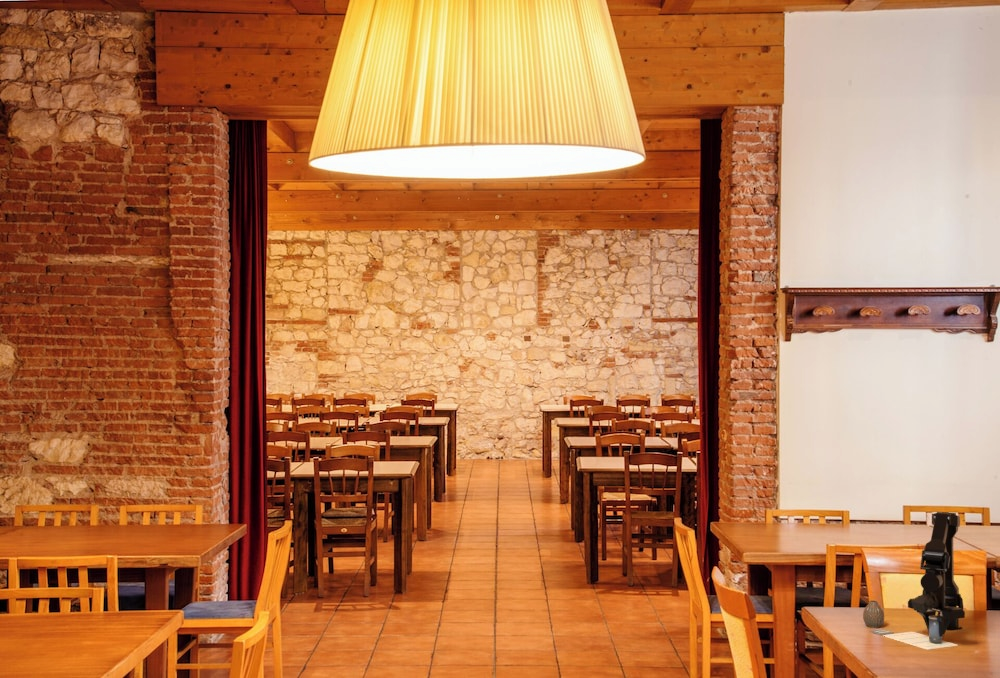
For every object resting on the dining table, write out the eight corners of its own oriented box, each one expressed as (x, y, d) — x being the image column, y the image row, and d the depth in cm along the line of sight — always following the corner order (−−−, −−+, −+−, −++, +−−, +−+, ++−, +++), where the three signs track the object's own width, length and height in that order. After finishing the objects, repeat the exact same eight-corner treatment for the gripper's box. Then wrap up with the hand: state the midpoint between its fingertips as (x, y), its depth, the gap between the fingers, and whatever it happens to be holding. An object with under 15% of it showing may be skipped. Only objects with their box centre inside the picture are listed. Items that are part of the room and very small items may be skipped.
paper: (912, 632, 351) (912, 631, 351) (957, 645, 334) (957, 644, 334) (882, 636, 346) (882, 635, 346) (927, 649, 329) (927, 648, 329)
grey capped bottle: (935, 639, 339) (935, 614, 340) (945, 642, 336) (945, 617, 336) (925, 640, 338) (925, 615, 338) (936, 643, 334) (935, 618, 334)
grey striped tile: (883, 630, 354) (883, 629, 354) (893, 633, 350) (893, 632, 350) (870, 632, 351) (870, 630, 351) (880, 635, 347) (880, 633, 347)
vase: (885, 629, 355) (885, 603, 356) (864, 628, 357) (864, 602, 357) (882, 624, 362) (882, 599, 362) (861, 623, 363) (861, 598, 364)
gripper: (894, 583, 343) (895, 630, 342) (939, 594, 325) (940, 644, 325) (920, 580, 347) (920, 627, 346) (965, 591, 330) (966, 641, 329)
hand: (935, 635), depth 337 cm, fingers closed on grey capped bottle, 4 cm apart
